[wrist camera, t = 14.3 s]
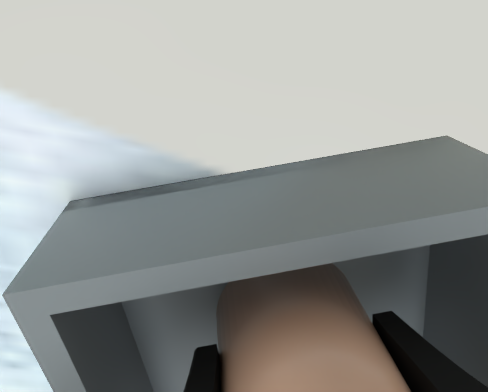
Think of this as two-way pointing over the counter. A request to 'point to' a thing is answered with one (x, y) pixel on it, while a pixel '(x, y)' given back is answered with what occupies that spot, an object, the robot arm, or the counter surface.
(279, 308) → the terracotta cylinder
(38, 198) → the counter surface
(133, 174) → the counter surface
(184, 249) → the tote
